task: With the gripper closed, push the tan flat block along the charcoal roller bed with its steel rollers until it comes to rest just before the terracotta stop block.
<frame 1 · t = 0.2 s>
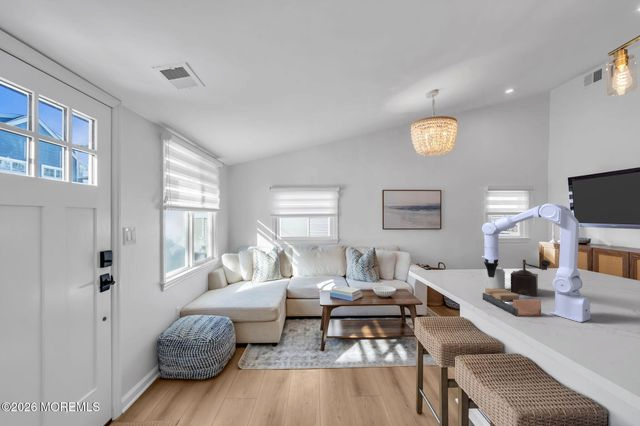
hand: (491, 275, 127), 10 cm above the kitchen island, tool pointing down, fingers open, 7 cm apart
roller bed: (509, 306, 112), on the kitchen island
tan flat block: (501, 294, 117), point 4 cm above the kitchen island, slide at 0.0 cm
can: (495, 291, 135), on the kitchen island
manual coffee grinder: (530, 293, 130), on the kitchen island
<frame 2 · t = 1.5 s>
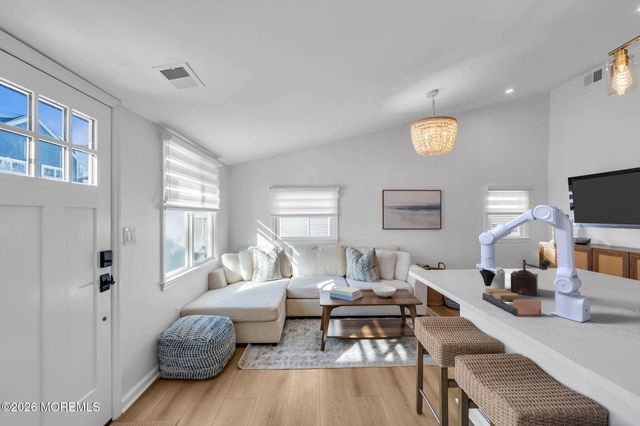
hand: (487, 285, 126), 5 cm above the kitchen island, tool pointing down, fingers closed
nothing on the kitchen island moved.
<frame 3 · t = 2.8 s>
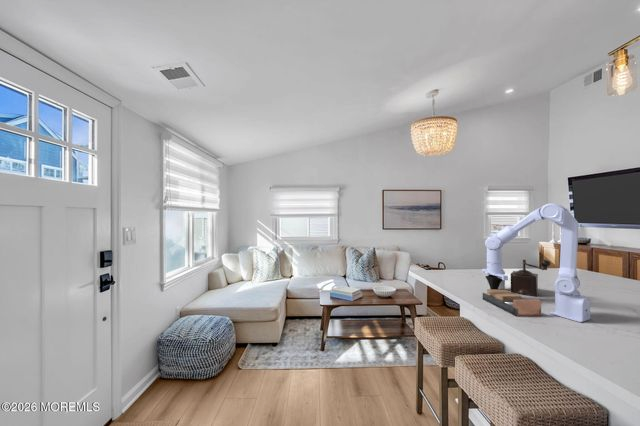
hand: (494, 291, 122), 4 cm above the kitchen island, tool pointing down, fingers closed
tan flat block: (503, 294, 116), point 4 cm above the kitchen island, slide at 1.3 cm, touching gripper
everything else where it was.
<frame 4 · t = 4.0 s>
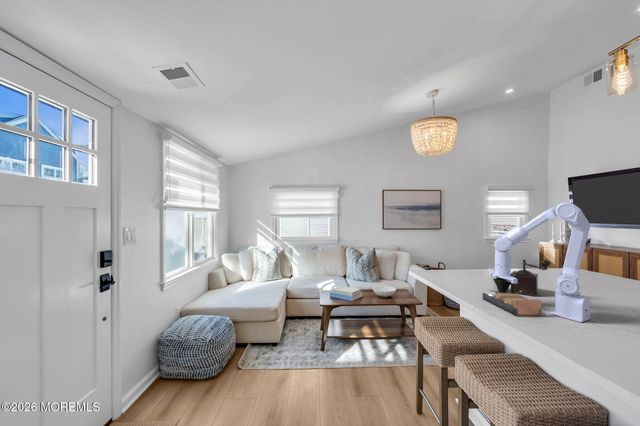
hand: (502, 295, 116), 4 cm above the kitchen island, tool pointing down, fingers closed
tan flat block: (513, 298, 110), point 4 cm above the kitchen island, slide at 6.7 cm, touching gripper
everything else where it was.
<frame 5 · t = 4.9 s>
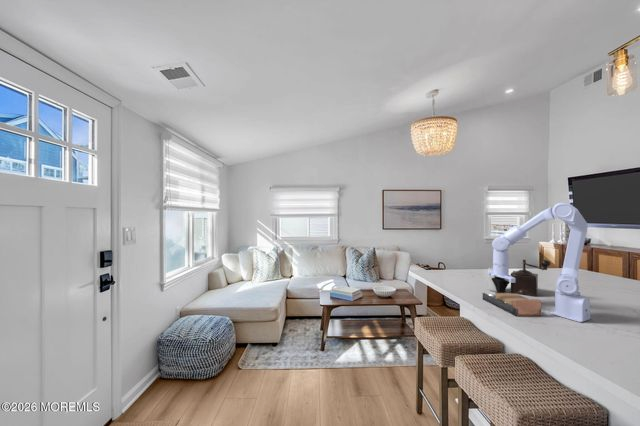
hand: (500, 294, 117), 4 cm above the kitchen island, tool pointing down, fingers closed
tan flat block: (513, 299, 110), point 4 cm above the kitchen island, slide at 6.7 cm
everything else where it was.
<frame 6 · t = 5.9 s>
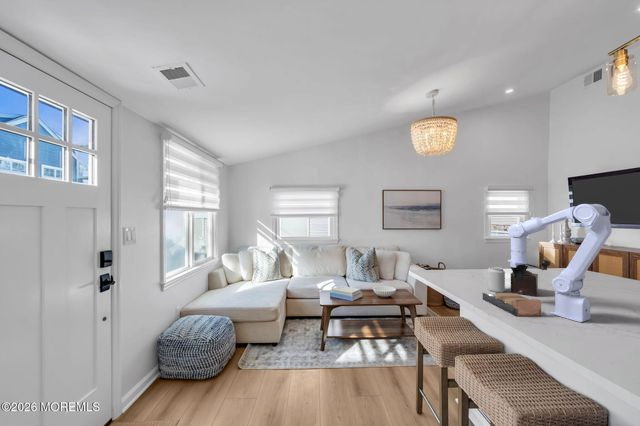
hand: (519, 281, 118), 9 cm above the kitchen island, tool pointing down, fingers closed
nothing on the kitchen island moved.
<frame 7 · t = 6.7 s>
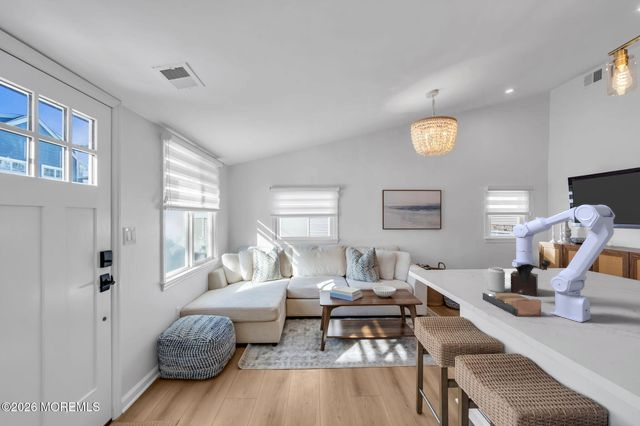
hand: (524, 281, 118), 9 cm above the kitchen island, tool pointing down, fingers closed
nothing on the kitchen island moved.
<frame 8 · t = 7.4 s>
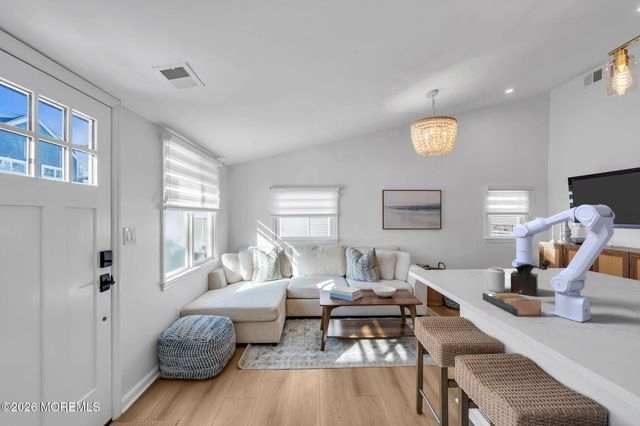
hand: (524, 281, 118), 9 cm above the kitchen island, tool pointing down, fingers closed
nothing on the kitchen island moved.
at the end: tan flat block slide at 6.7 cm; the gripper is holding nothing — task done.
